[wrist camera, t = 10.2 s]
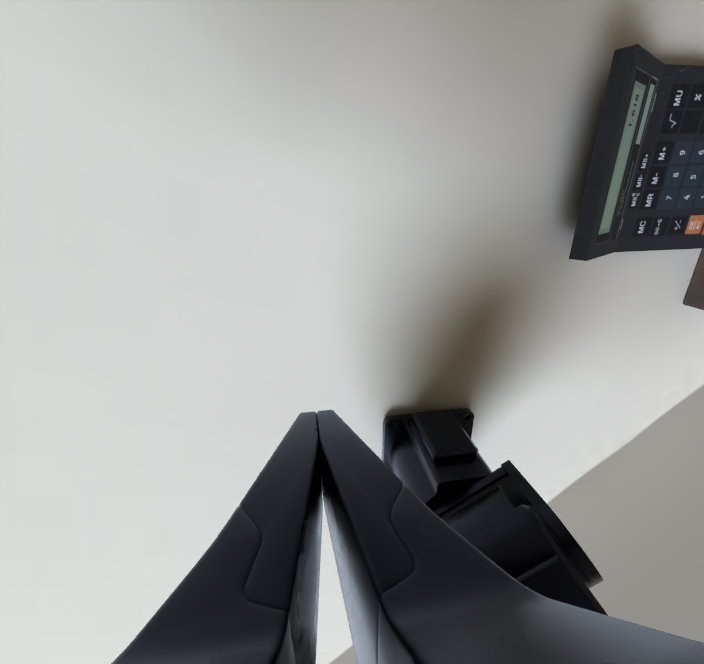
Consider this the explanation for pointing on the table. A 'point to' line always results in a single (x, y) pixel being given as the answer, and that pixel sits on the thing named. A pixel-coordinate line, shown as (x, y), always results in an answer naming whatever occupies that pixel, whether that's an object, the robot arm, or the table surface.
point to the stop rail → (696, 286)
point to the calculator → (645, 161)
